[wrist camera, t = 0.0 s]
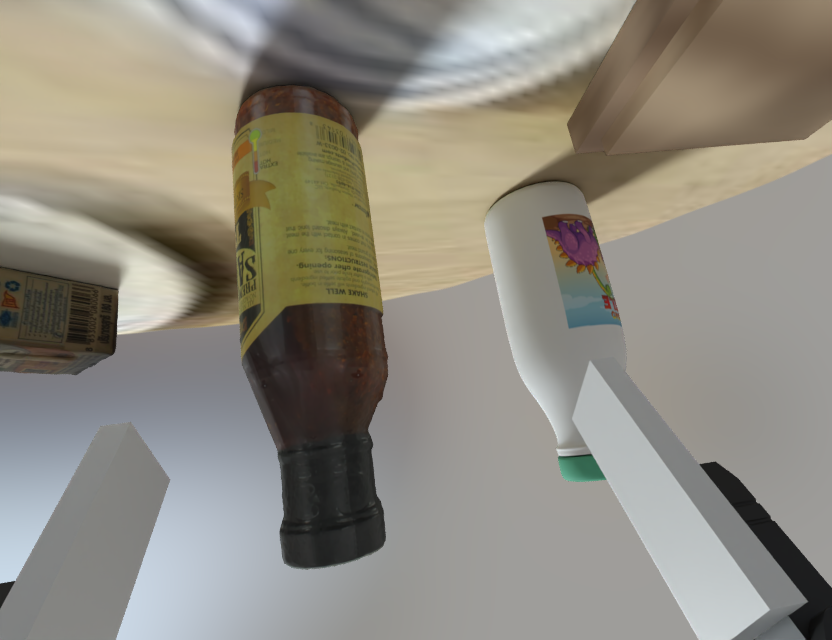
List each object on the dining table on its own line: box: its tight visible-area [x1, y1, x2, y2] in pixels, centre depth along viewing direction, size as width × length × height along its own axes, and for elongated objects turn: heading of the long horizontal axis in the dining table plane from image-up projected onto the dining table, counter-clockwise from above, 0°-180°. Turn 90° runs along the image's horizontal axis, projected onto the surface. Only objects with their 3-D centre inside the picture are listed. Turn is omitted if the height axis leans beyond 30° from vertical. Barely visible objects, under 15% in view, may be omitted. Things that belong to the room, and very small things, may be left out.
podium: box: [567, 0, 832, 155], centre depth 18 cm, size 14×14×3 cm
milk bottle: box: [484, 181, 627, 482], centre depth 30 cm, size 8×8×20 cm
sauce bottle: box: [232, 85, 388, 570], centre depth 19 cm, size 6×6×20 cm
